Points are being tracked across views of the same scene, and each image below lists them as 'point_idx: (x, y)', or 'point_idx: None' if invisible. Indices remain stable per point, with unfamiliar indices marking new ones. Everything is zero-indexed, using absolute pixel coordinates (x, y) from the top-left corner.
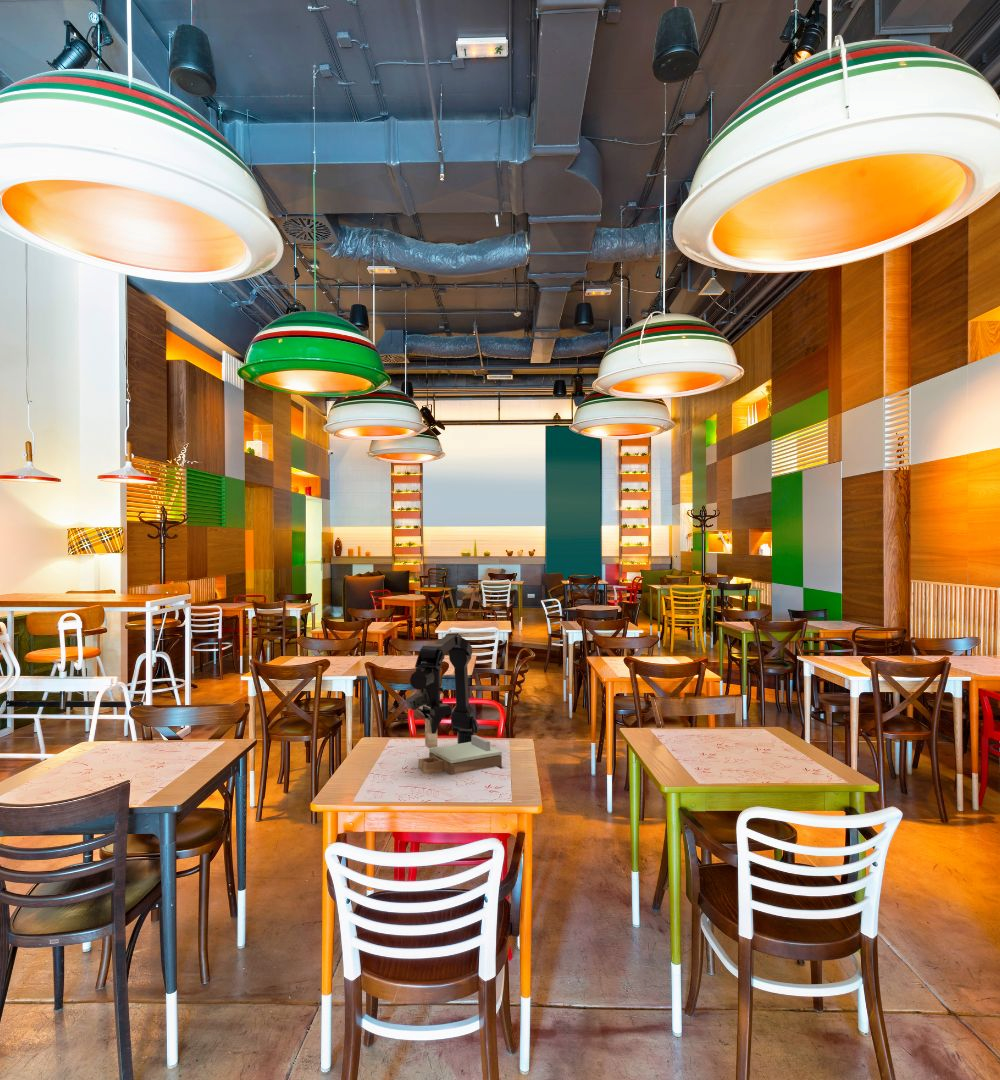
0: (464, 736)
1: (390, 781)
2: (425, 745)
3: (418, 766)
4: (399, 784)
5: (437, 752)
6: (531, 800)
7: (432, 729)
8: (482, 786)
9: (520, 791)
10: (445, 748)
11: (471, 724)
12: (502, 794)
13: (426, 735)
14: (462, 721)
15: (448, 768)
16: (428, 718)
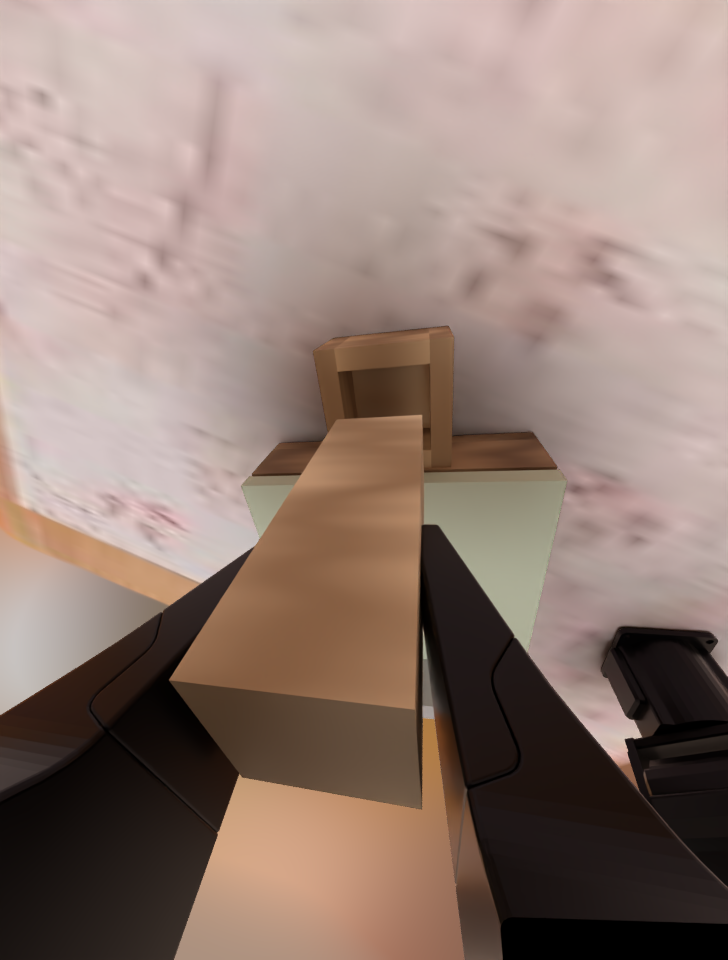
0: (661, 706)
1: (348, 7)
2: (411, 417)
3: (449, 330)
4: (257, 85)
5: (431, 486)
6: (39, 548)
7: (243, 555)
8: (163, 499)
9: (110, 561)
10: (488, 556)
11: (649, 797)
12: (82, 513)
13: (377, 466)
14: (704, 811)
15: (289, 458)
16: (338, 730)
